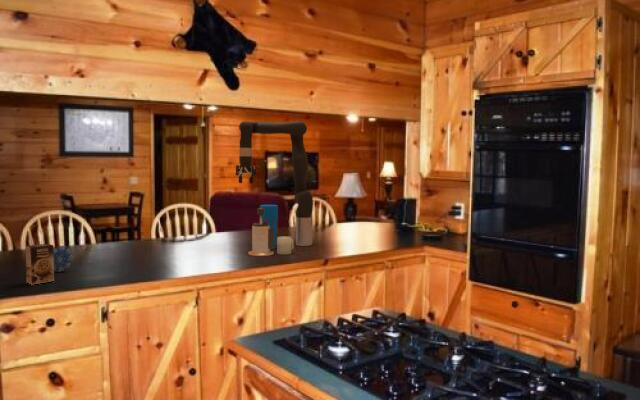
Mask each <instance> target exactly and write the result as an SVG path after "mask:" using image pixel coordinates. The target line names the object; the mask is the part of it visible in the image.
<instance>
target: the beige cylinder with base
mask: <svg viewBox="0 0 640 400" xmlns="http://www.w3.org/2000/svg"><path fill="white" fill-rule="evenodd" d="M251 231H252V232H251V236H252V237H251V249H252V250H251V251H248V253H247V254H248V255H249V256H253V257H268V256H273V255H274V254H275V253H274V251H273V250H275V248H274V229H270V225H269V223H262V224H260V222H254V223H252V228H251Z"/></svg>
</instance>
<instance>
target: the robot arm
mask: <svg viewBox="0 0 640 400" xmlns="http://www.w3.org/2000/svg"><path fill="white" fill-rule="evenodd" d="M238 129H239V131H240V139H239V151H238V152H239V153H238V154H239V156H238V158H239V161H238V162H239V165H237V164H236V166H235V176H237V178H238V183H239V184H243V176H244V174H247V175H248V176H249V180H248V181H249V182H248V183H249V184H254V177H256V176H257V165H252V164H253V148H252V147H253V143H252V142H253V141H252V138H253V134H260V135H263V134H264V135H277V134H283V135H284V134H285V135H286V134H288V135H289V136H290V137H289V138H290V141H291V154H292V155H291V156H292V157H291V159H292V171H293V179H294V200H295V203H296V204H297V205H298V206H297V211H296V212H295V245H296V246H298V247H299V246H300V247H303V246H304V247H307V246H309V247H310V246H312V245H313V229H312V213H313V207H314V206H313V205H314V200H313V199H314V198H313V195H312V193H311V192H309V191H308V188H307V177H308V174H309V173H308V172H309V161H308V155H307V151H306V149H305V144H304V135H305V134H306V133H307V129H308V128H307V125H306V123H305V122H304V121H301V120H295V121H292V122H274V121H273V122H272V121H271V122H270V121H257V122H256V121H248V120H244V121H241V122H240V124H239V125H238Z"/></svg>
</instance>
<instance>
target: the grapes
mask: <svg viewBox="0 0 640 400" xmlns="http://www.w3.org/2000/svg"><path fill="white" fill-rule="evenodd" d="M71 253H72V250H71V248H67V249H66V247H65V246H62V245H61V246H59V247H58V248H53V255H54V273H55V272H56V271H58V273H62V272H64V270H65V269H68V268H69V267H70V266H71V261H73V259H74V256H73V254H71ZM61 271H62V272H61Z"/></svg>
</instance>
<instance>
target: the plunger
mask: <svg viewBox="0 0 640 400" xmlns="http://www.w3.org/2000/svg"><path fill="white" fill-rule="evenodd" d="M262 214H265V208H260V207H258V208H257V215H259V223H260V224H262Z"/></svg>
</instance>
